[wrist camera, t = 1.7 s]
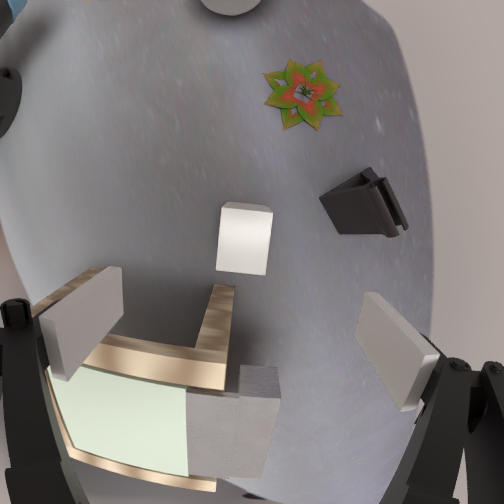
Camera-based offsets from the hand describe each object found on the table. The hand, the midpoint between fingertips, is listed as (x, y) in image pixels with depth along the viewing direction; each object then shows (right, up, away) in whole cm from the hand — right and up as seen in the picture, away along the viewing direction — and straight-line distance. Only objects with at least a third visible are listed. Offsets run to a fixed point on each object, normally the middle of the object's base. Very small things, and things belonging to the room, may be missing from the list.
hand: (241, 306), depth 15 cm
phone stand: (+15, +10, +26) cm, 31 cm away
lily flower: (+8, +25, +22) cm, 34 cm away
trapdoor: (-10, -16, +17) cm, 26 cm away
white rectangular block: (0, +6, +26) cm, 27 cm away
